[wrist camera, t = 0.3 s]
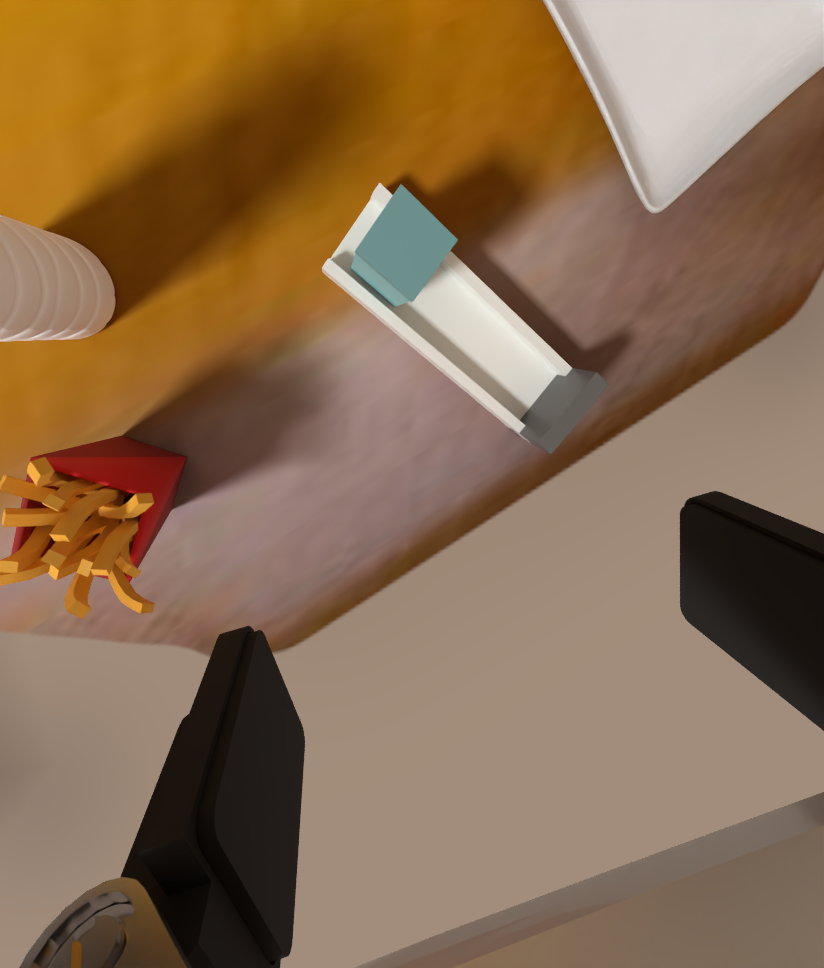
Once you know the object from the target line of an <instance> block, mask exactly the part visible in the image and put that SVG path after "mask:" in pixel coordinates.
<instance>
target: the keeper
mask: <svg viewBox="0 0 824 968" xmlns="http://www.w3.org/2000/svg"><path fill="white" fill-rule="evenodd" d="M457 241H458V239H457V238H456V237H455V236H454V235H453V234H452V233H451V232H450V231H449V230H448V229H446V228H445V227H444V226H443V225H442V224H441V223H440V222H439V221H438V220H437V219H436V218H435V217H434V216H433V215H432V214H431V213H430V212H429V211H428V210H427V209H426V208H425V207H424V206H423V205H422V204H421V203H420V202H419V201H418V200H417V199H416V198H415V197H414V196H413V195H412V194H411V193H410V192H409V191H408V190H407V189H406V188H405V187H404V186H403V185H402V184H400V186H399V187H398V189H397V190H396V192H395V193H394V195H393V196H392V198H391V199H390V200H389V202H388V203H387V205H386V206H385V208H384V209H383V211H382V212H381V214H380V215H379V216H378V218H377V219H376V221H375V222H374V224H373V225H372V227H371V228H370V230H369V231H368V232H367V234H366V235H365V237H364V238H363V240H362V241H361V243H360V244H359V246H358V247H357V248H356V250H355V256H354V259H353V263H352V266H351V269H350V270H352V271H353V272H354V273H355V274H356V275H357V276H359V277H360V278H361V279H362V280H363V281H364V282H366V283H367V284H368V285H369V286H370V287H371V288H373V289H374V290H375V291H376V292H377V293H378V294H380V295H381V296H382V297H383V298H384V299H385V300H387V301H388V302H389V303H390V304H391V305H392V306H394V307H396V306H398V305H401V304H404V303H407V302H409V301H410V302H413V301H414V300H415V298H416V297H417V296H418V294H419V293H420V292H421V290H422V289H423V287H424V286H425V285H426V283H427V282H428V281H429V279H430V278H431V276H432V275H433V274H434V272H435V271H436V270H437V268H438V267H439V265H440V264H441V263H442V261H443V260H444V259H445V257H446V256H447V254H448V253H449V252H450V250H451V249H452V248H453V246H454V245H455V243H456V242H457Z"/></svg>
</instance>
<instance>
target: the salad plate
mask: <svg viewBox="0 0 824 968" xmlns="http://www.w3.org/2000/svg"><path fill="white" fill-rule="evenodd" d="M543 2H544V4H545V6H546V7H547V9H548V11H549V13H550V14H551V16H552V18H553V20H554V22H555V24H556V26H557V27H558V29H559V31H560V33H561V35H562V37H563V39H564V41H565V43H566V44H567V46H568V48H569V50H570V52H571V54H572V56H573V58H574V60H575V62H576V64H577V66H578V68H579V70H580V71H581V73H582V75H583V77H584V79H585V81H586V83H587V85H588V87H589V89H590V91H591V93H592V95H593V97H594V99H595V101H596V103H597V106H598V108H599V110H600V112H601V114H602V116H603V118H604V121H605V123H606V125H607V127H608V129H609V131H610V134H611V136H612V138H613V141H614V143H615V145H616V147H617V150H618V152H619V154H620V156H621V159H622V161H623V163H624V166H625V168H626V171H627V173H628V175H629V178H630V180H631V183H632V185H633V187H634V189H635V191H636V193H637V195H638V197H639V198H640V200H641V202H642V203H643V205H644V206H645V208H646V209H647V210H648V211H649V212H651V213H658V212H661V211H662V210H664V209H665V208H666V207H668V206H669V205H670V204H671V203H672V202H673V201H674V200H676V199H677V198H678V197H679V196H680V195H681V194H682V193H683V192H685V191H686V190H687V189H688V188H689V187H690V186H691V185H692V184H693V183H694V182H695V181H696V180H697V179H699V178H700V177H701V176H702V175H703V174H704V173H705V172H706V171H707V170H708V169H709V168H710V167H711V166H712V165H713V164H715V163H716V162H717V161H718V160H719V159H720V158H721V157H722V156H723V155H724V154H725V153H726V152H727V151H728V150H730V149H731V148H732V147H733V146H734V145H735V144H736V143H737V142H738V141H739V140H740V139H742V138H743V137H744V136H745V135H746V134H747V133H748V132H749V131H750V130H751V129H752V128H754V127H755V126H756V125H757V124H758V123H759V122H760V121H761V120H762V119H764V118H765V117H766V116H767V115H768V114H769V113H770V112H771V111H772V110H774V109H775V108H776V107H777V106H778V105H779V104H780V103H781V102H782V101H784V100H785V99H786V98H787V97H788V96H789V95H790V94H791V93H793V92H794V91H795V90H796V89H797V88H798V87H800V86H801V85H802V84H803V83H804V82H806V81H807V80H808V79H809V78H811V77H812V76H813V75H814V74H816V73H817V72H818V71H819V70H820V69H822V68H823V67H824V0H543Z"/></svg>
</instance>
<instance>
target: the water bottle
mask: <svg viewBox="0 0 824 968" xmlns="http://www.w3.org/2000/svg"><path fill="white" fill-rule="evenodd" d="M114 294H115V290H114V285H113V282H112V280H111V277H110V275H109V273H108V271H107V270H106V268H105V267H104V266H103V265H102V264H101V262H100V260H99V259H98V258H97V257H96V256H95V255H94V254H93V253H92V252H91V251H89V250H88V249H87V248H85V247H84V246H82V245H81V244H79V243H77V242H75V241H73V240H71V239H69V238H66V237H63V236H60V235H58V234H55V233H52V232H48V231H45V230H42V229H40V228H37V227H34V226H31V225H28V224H24V223H22V222H20V221H17V220H14V219H12V218H9V217H5V216H2V215H0V341H18V340H19V341H30V340H54V339H58V340H67V339H81V338H86V337H89V336H92V335H94V334H96V333H98V332H99V331H101V330H102V329H103V328H104V327H105V326H106V324H107V323H108V322H109V321H110V319H111V317H112V315H113V313H114V309H115V296H114Z"/></svg>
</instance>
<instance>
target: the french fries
mask: <svg viewBox="0 0 824 968" xmlns="http://www.w3.org/2000/svg"><path fill="white" fill-rule="evenodd" d="M186 459H187V457H186V456H183V455H180V454H176V453H173V452H170V451H167V450H164V449H161V448H158V447H155V446H152V445H148V444H145V443H142V442H139V441H136V440H133V439H130V438H127V437H123V436H119V437H114V438H110V439H106V440H102V441H98V442H94V443H89V444H85V445H81V446H77V447H73V448H68V449H64V450H60V451H56V452H52V453H48V454H43V455H39V456H35V457H31V459H30V464H29V466H28V468H27V473H28V474H27V479H26V481H24V480H21V479H17V478H14V477H10V476H7V475H4V476H3V478H2V480H1V481H0V491H1V492H5V493H8V494H12V495H16V496H20V497H23V499H22V504H21V508H4V512H3V517H2V524H3V527H17V528H16V533H15V538H14V543H13V548H12V553H11V556H9V557H7V558H4V559H2V560H0V586H1V585H6V584H11V583H16V582H21V581H25V580H30V579H32V578H35V577H37V576H40V575H42V574H44V573H47V572H49V575H51V576H52V577H53V578H54V579H55V580H59V579H61V578H63V577H65V576H67V575H69V574H71V573H74V572H77V573H76V574H75V576H74V578H73V580H72V582H71V584H70V586H69V589H68V591H67V594H66V596H65V608H66V610H67V612H69V613H71V614H73V615H75V616H77V617H79V618H81V619H83V617H84V616H85V615H86V614H87V613H88V612H89V611H90V610H91V607H90V606H89V604H88V598H87V597H88V593H89V589H90V586H91V583H92V580H93V577H94V576H97V577H102V578H106V579H109V581H110V583H111V585H112V588H113V590H114V591H115V593H116V595H117V596H118V598H119V599H120V601H121V602H122V603H124V604H125V605H126V606H128V607H129V608H131V609H133V610H135V611H136V612H138V613H152V612H153V608H154V604H155V603H152V602H150V601H148V600H146V599H144V598H143V597H141V596H140V595H138V594H137V593H136V592H135V590H134V589H133V588H132V586H131V585H130V583H129V582H130V581H131V579H132V577H134V578H136V577H137V576H138V575H139V574H140V572H141V570H139V569H138V567H139V565H140V563H141V562H142V560H143V558H144V557H145V555H146V553H147V551H148V550H149V548H150V546H151V544H152V543H153V541H154V539H155V538H156V536H157V534H158V532H159V531H160V529H161V527H162V525H163V524H164V522H165V520H166V518H167V517H168V515H169V513H170V512H171V510H172V506H173V503H174V500H175V496H176V493H177V490H178V486H179V483H180V480H181V476H182V473H183V469H184V466H185V463H186Z"/></svg>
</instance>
